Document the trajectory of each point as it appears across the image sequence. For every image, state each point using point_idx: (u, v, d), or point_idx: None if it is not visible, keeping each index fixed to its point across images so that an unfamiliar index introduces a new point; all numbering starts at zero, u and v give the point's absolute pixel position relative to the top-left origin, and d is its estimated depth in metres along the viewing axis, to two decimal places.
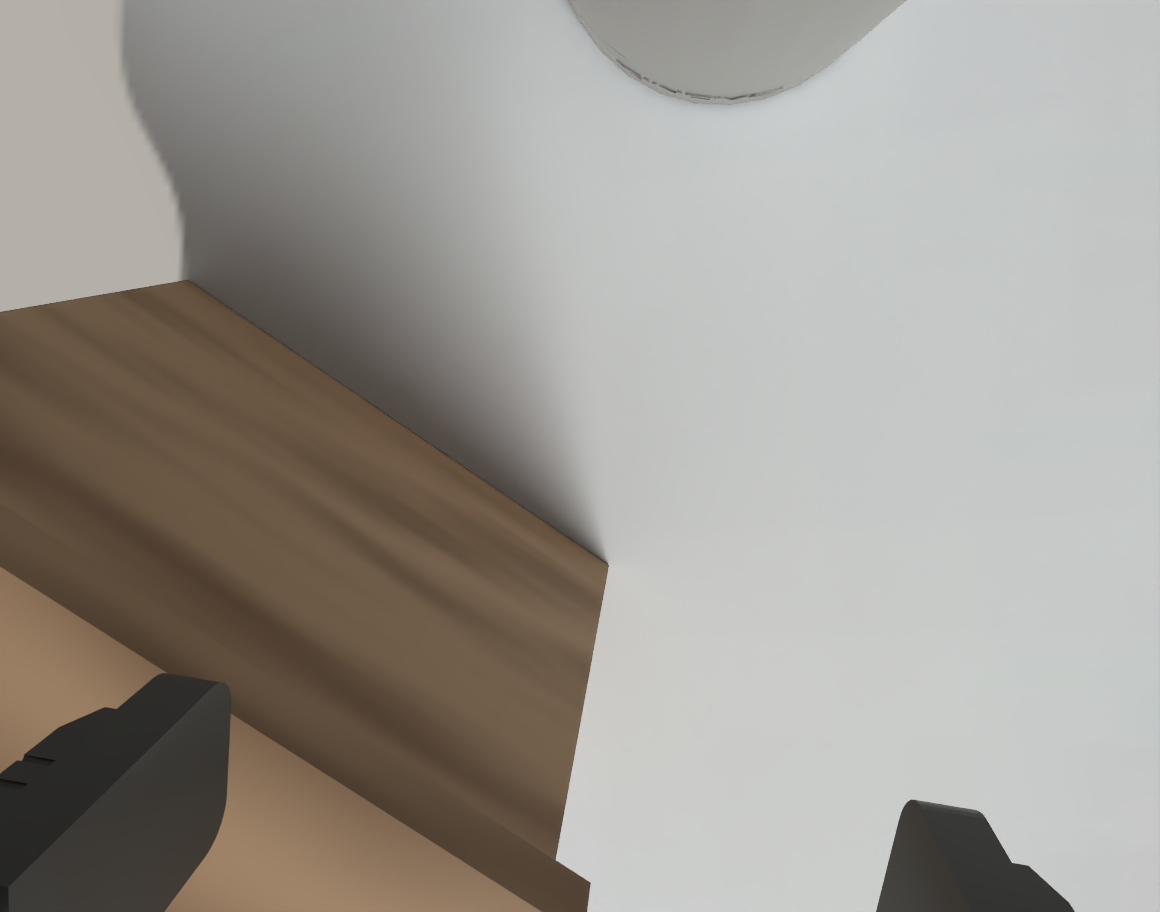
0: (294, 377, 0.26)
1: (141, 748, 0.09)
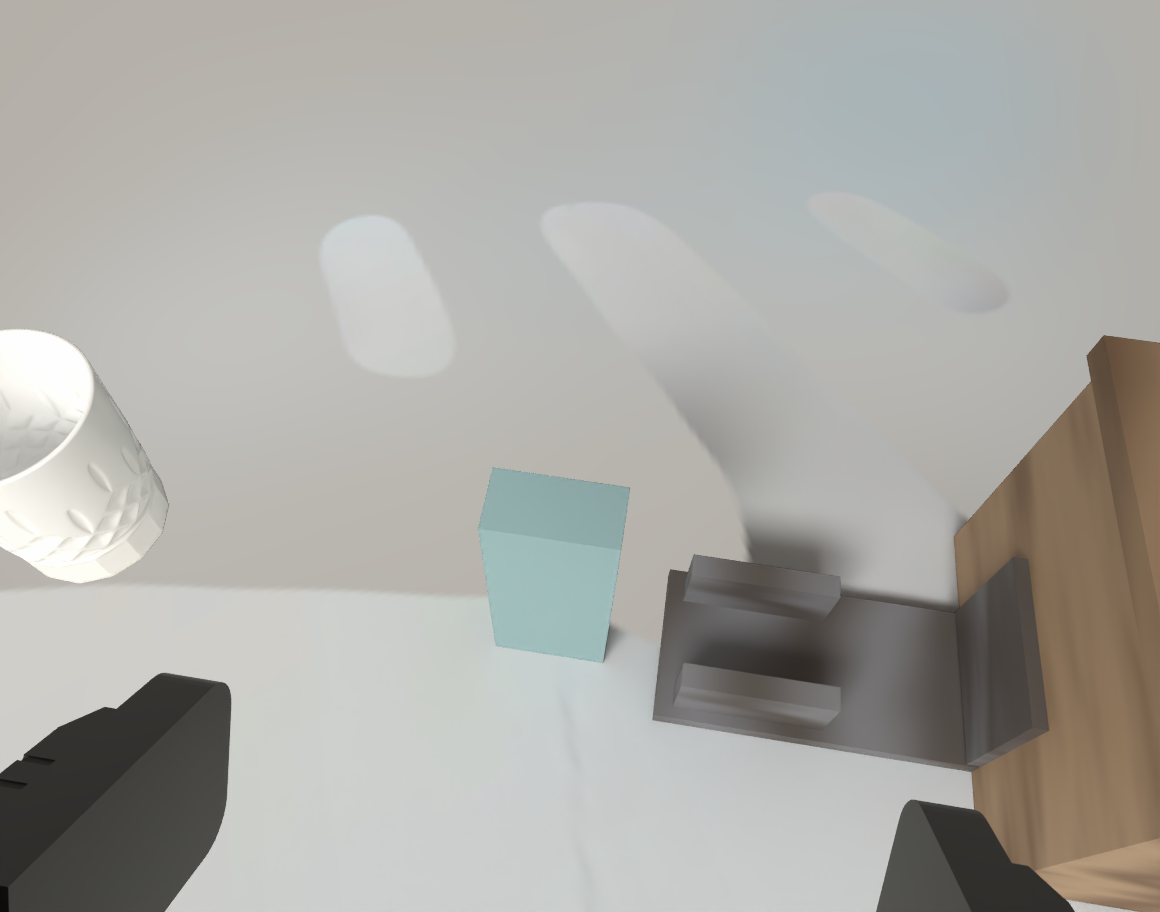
0: None
1: (141, 748, 0.09)
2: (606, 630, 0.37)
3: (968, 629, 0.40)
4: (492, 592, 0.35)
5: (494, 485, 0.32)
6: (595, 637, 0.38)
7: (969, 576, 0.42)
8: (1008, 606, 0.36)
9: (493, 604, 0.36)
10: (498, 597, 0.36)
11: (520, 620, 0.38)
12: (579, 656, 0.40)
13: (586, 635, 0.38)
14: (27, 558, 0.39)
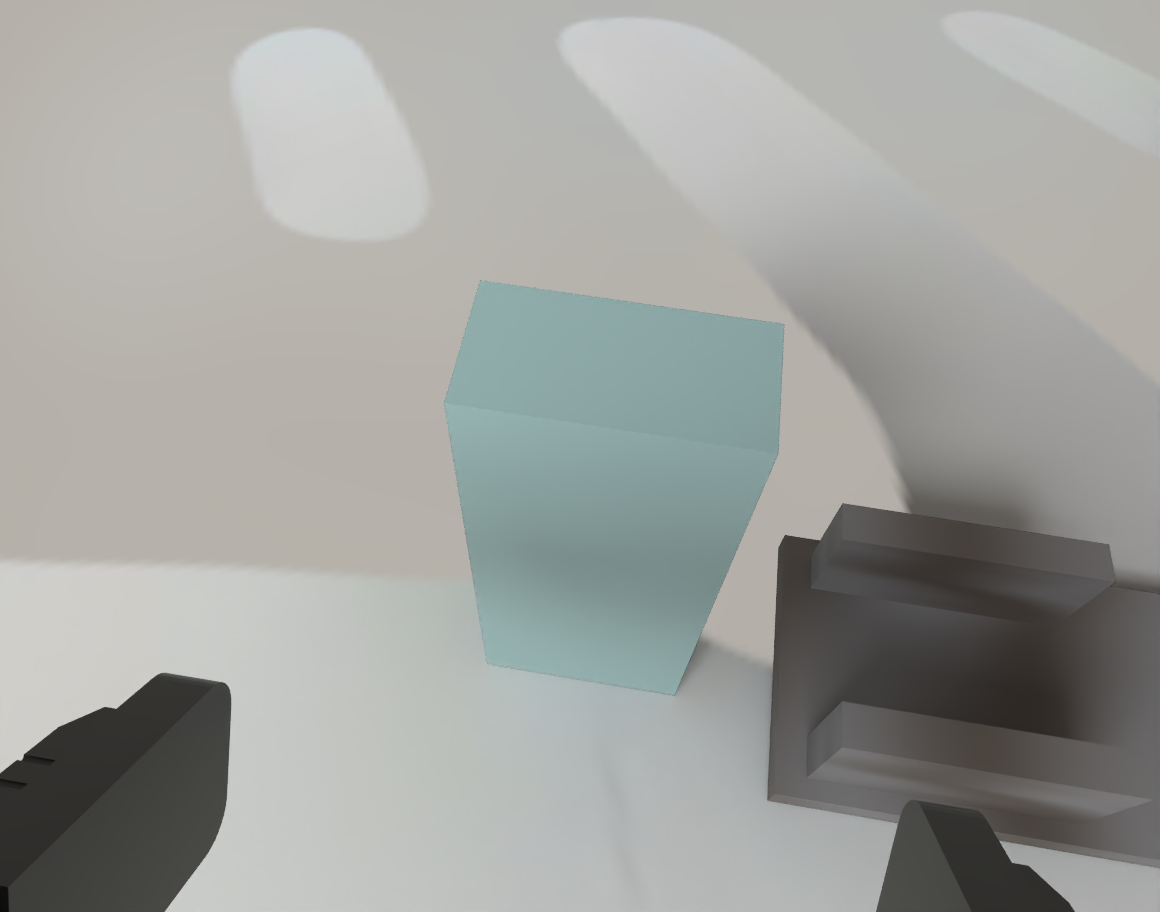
0: None
1: (141, 747, 0.09)
2: (695, 639, 0.20)
3: None
4: (480, 562, 0.18)
5: (483, 315, 0.14)
6: (670, 652, 0.21)
7: None
8: None
9: (481, 588, 0.19)
10: (491, 573, 0.18)
11: (531, 620, 0.20)
12: (633, 684, 0.23)
13: (654, 648, 0.20)
14: None
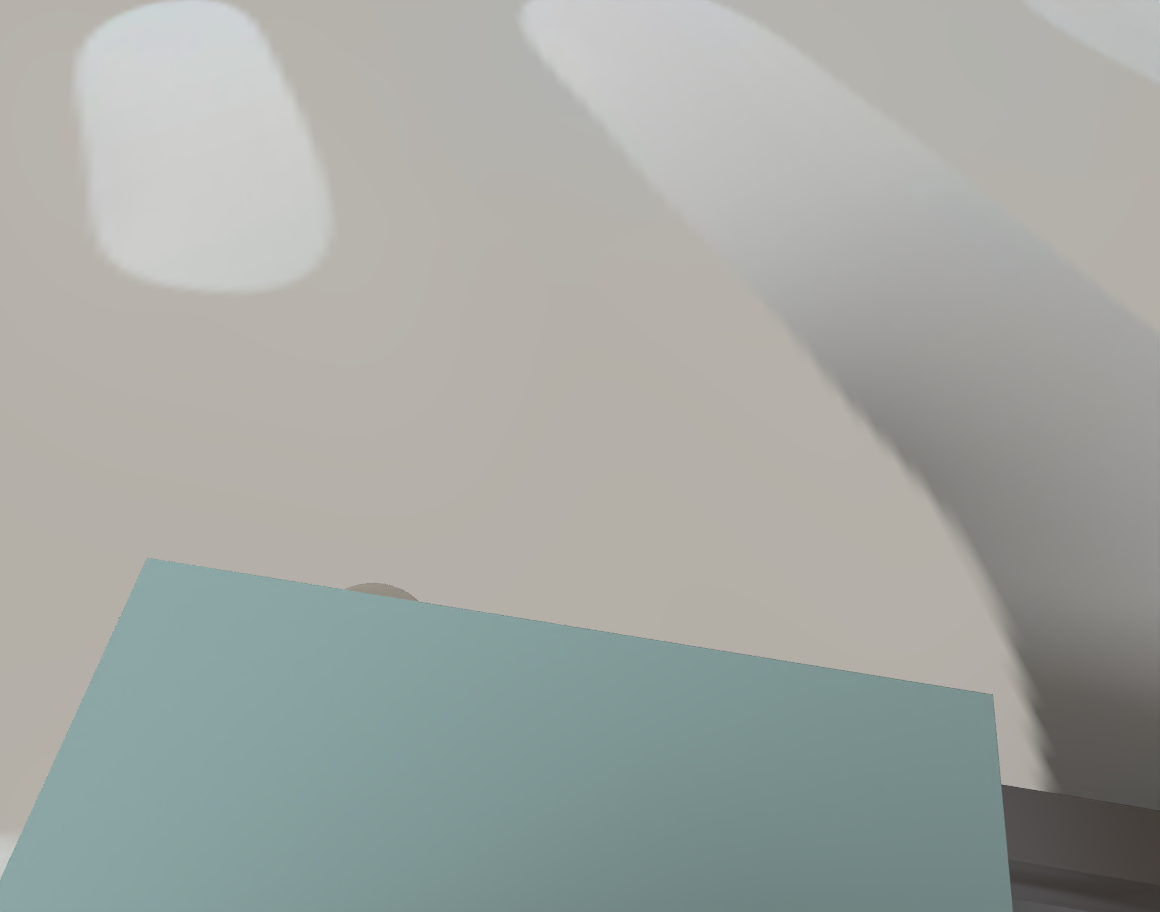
0: None
1: None
2: None
3: None
4: None
5: (129, 682, 0.05)
6: None
7: None
8: None
9: None
10: None
11: None
12: None
13: None
14: None
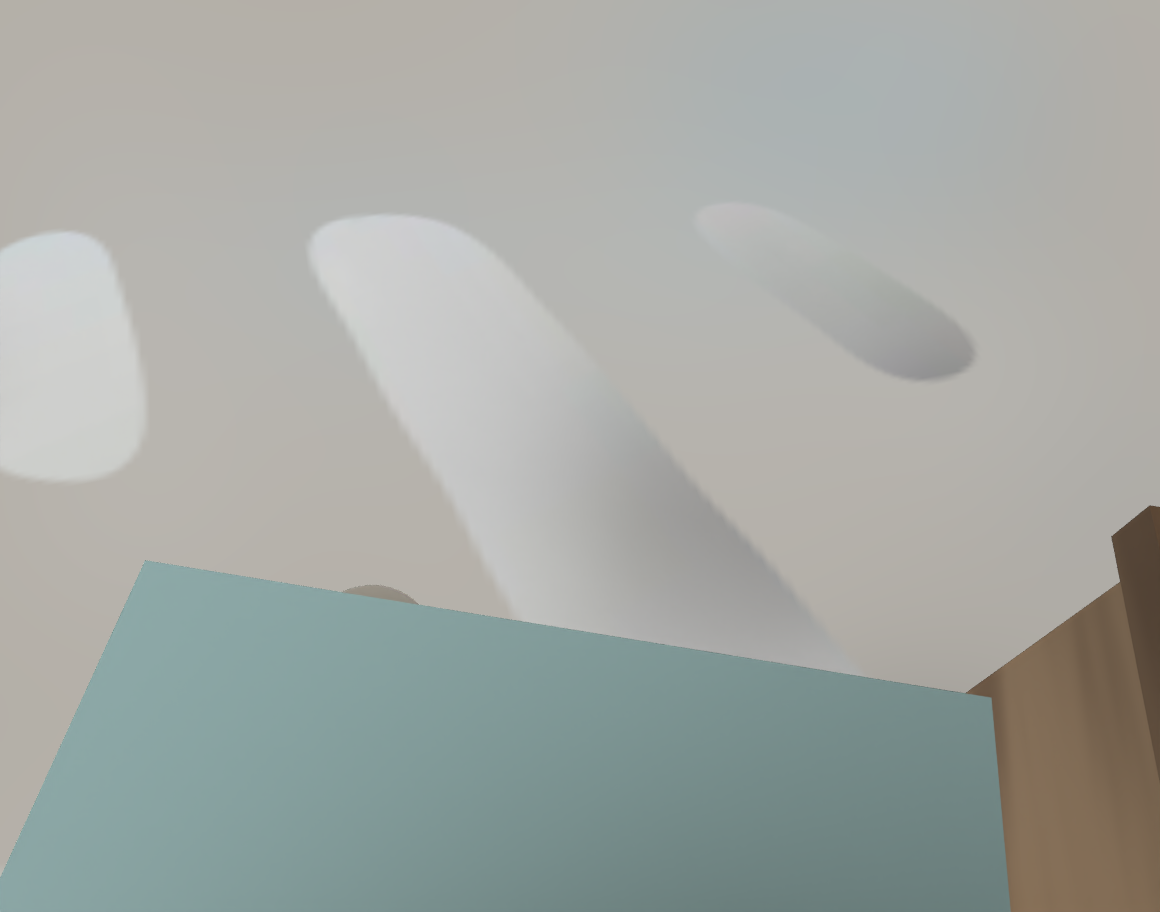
0: None
1: None
2: None
3: None
4: None
5: (127, 684, 0.05)
6: None
7: None
8: None
9: None
10: None
11: None
12: None
13: None
14: None
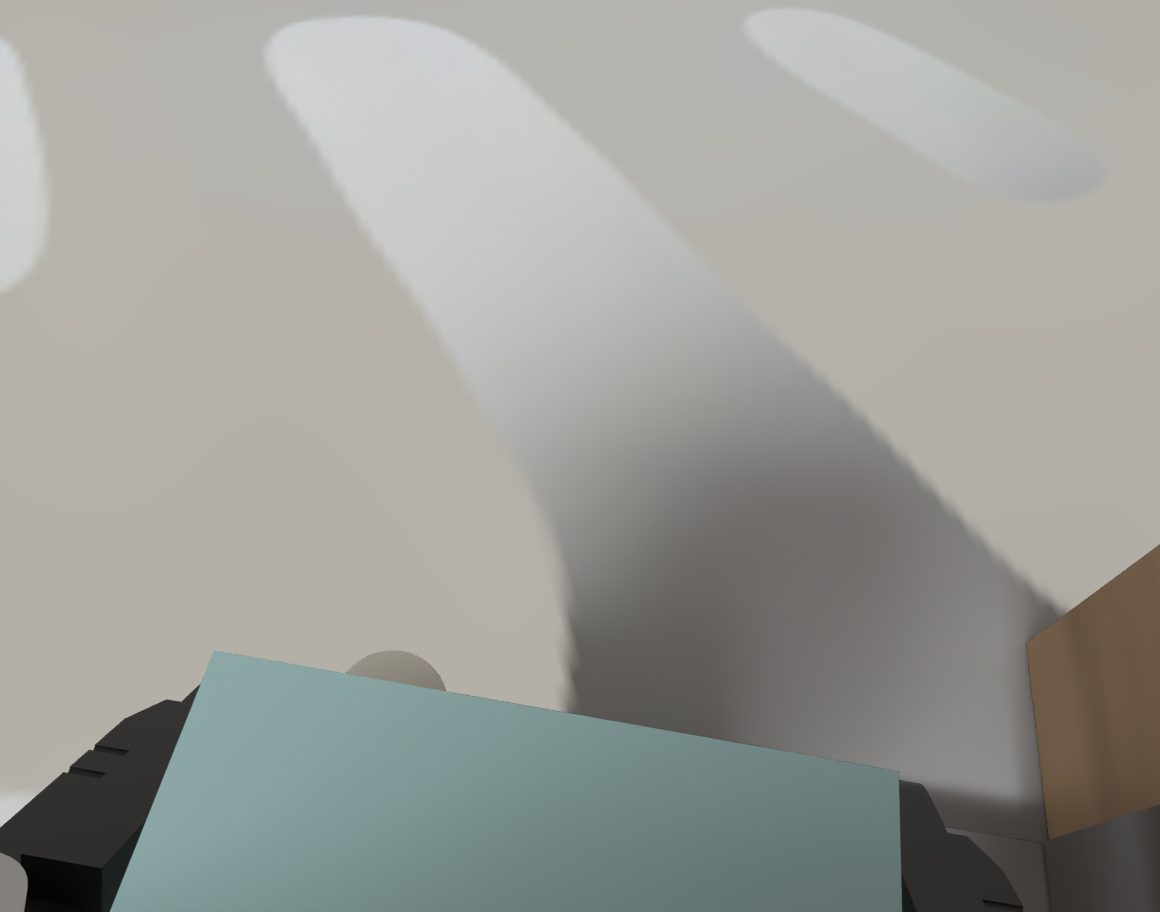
0: None
1: None
2: None
3: None
4: None
5: (203, 756, 0.06)
6: None
7: (1074, 752, 0.18)
8: None
9: None
10: None
11: None
12: None
13: None
14: None
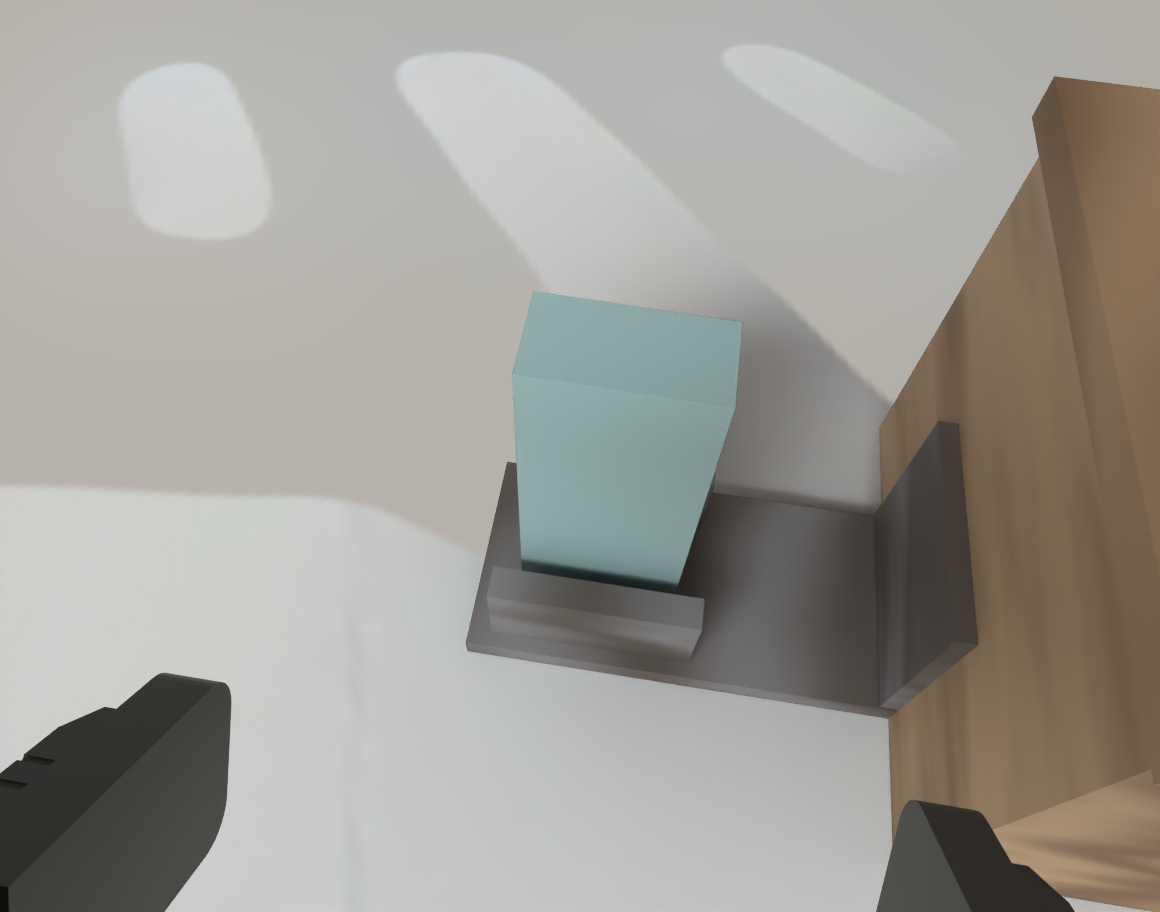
0: None
1: (141, 748, 0.09)
2: (684, 558, 0.26)
3: (887, 532, 0.30)
4: (525, 496, 0.24)
5: (536, 315, 0.21)
6: (665, 571, 0.27)
7: (893, 470, 0.32)
8: (931, 487, 0.26)
9: (525, 518, 0.26)
10: (532, 504, 0.25)
11: (560, 545, 0.27)
12: None
13: (653, 568, 0.27)
14: None
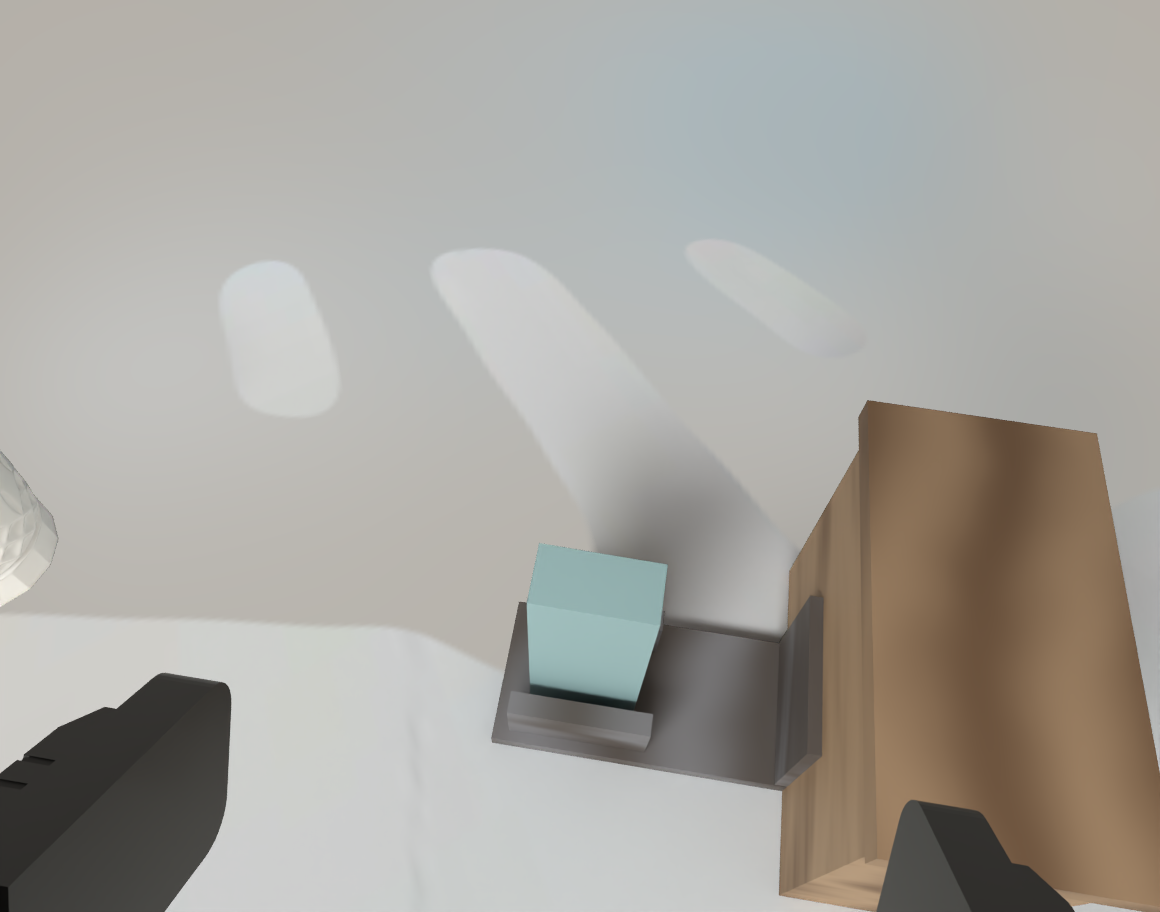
0: None
1: (141, 747, 0.09)
2: (638, 689, 0.39)
3: (784, 659, 0.43)
4: (533, 654, 0.38)
5: (541, 561, 0.34)
6: (627, 694, 0.40)
7: (794, 609, 0.45)
8: (804, 640, 0.39)
9: (532, 663, 0.39)
10: (538, 658, 0.38)
11: (556, 678, 0.40)
12: None
13: (619, 692, 0.40)
14: None
